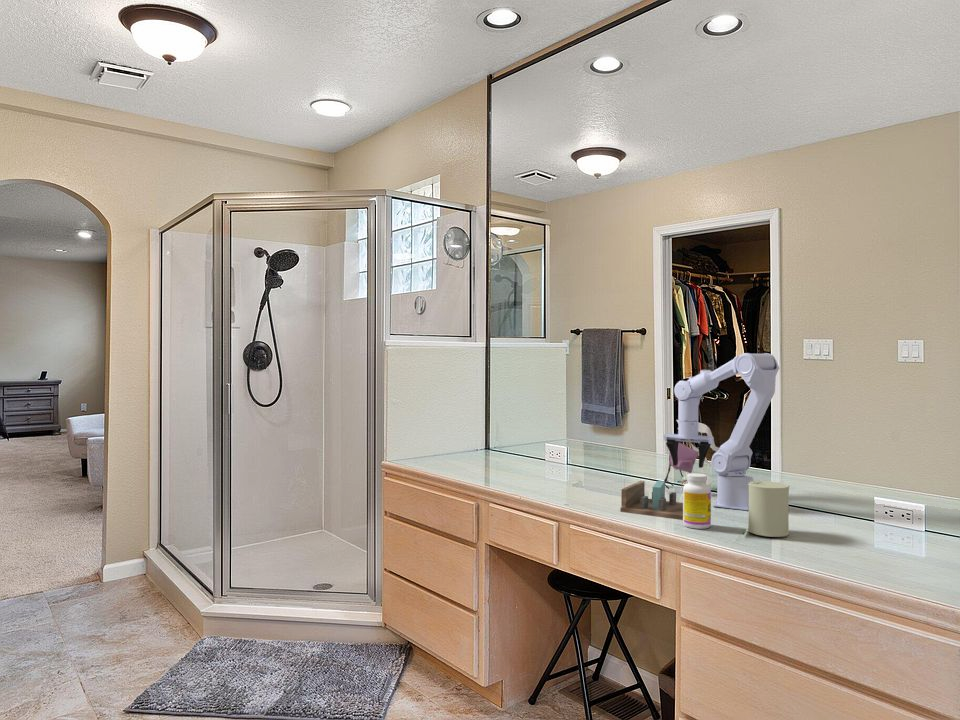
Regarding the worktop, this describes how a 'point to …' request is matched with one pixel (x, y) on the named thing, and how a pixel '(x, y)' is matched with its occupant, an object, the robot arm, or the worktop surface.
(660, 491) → the door panel
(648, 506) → the board
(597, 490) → the worktop surface
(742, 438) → the robot arm
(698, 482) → the supplement bottle
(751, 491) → the can
